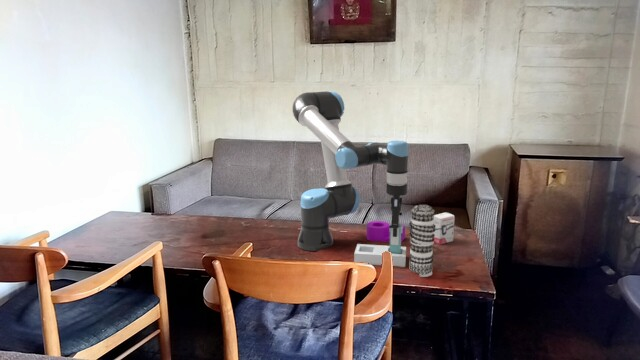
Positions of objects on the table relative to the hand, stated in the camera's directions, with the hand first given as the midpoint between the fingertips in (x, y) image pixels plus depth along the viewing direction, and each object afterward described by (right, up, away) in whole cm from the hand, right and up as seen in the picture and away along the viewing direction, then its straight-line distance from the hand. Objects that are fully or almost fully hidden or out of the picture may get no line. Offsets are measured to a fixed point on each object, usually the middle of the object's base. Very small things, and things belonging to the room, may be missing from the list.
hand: (395, 238), depth 178 cm
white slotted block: (-5, -10, +3) cm, 12 cm away
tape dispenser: (0, -4, +29) cm, 29 cm away
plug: (0, -9, +2) cm, 9 cm away
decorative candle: (+8, -12, -6) cm, 16 cm away
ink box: (+24, -5, +24) cm, 35 cm away
